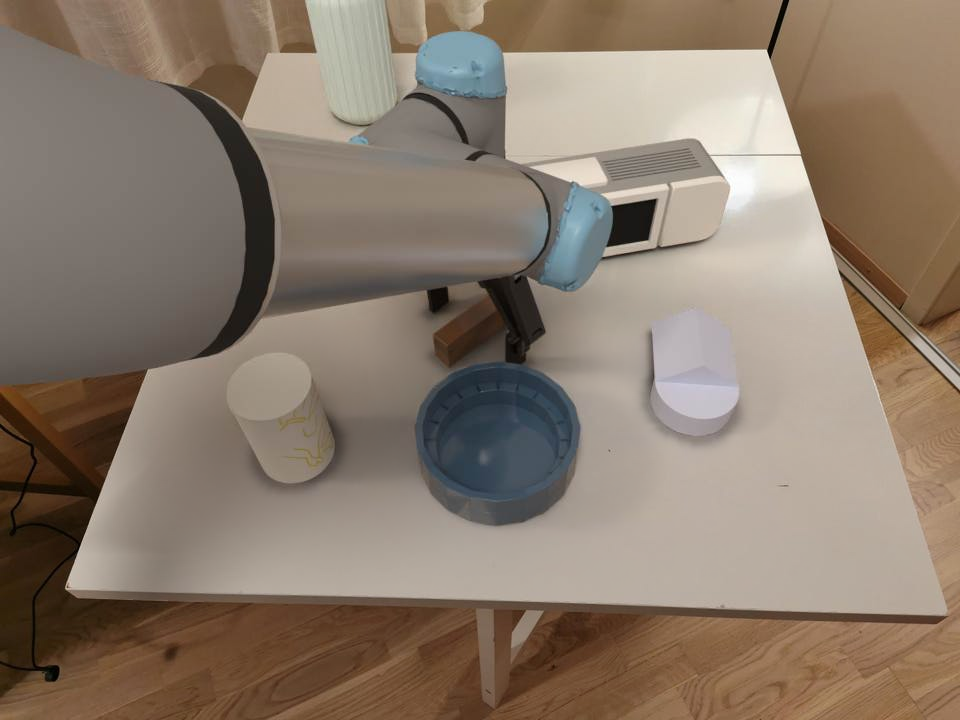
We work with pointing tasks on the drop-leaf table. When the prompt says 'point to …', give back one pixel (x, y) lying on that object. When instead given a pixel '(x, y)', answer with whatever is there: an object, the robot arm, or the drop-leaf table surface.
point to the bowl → (497, 442)
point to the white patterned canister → (281, 416)
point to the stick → (467, 331)
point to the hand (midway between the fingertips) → (476, 335)
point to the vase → (354, 57)
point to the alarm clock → (651, 191)
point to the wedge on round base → (693, 373)
